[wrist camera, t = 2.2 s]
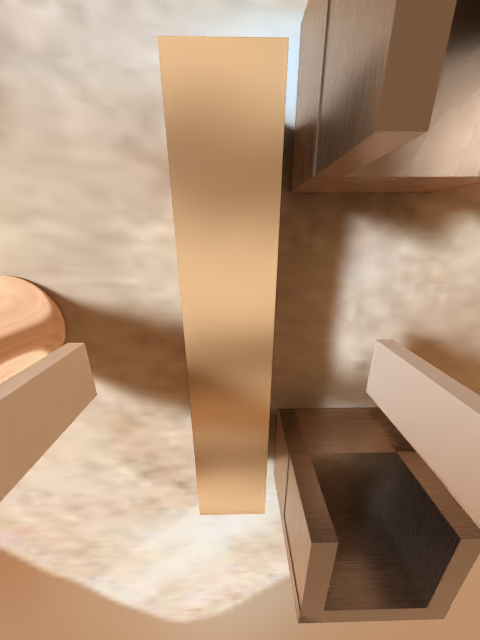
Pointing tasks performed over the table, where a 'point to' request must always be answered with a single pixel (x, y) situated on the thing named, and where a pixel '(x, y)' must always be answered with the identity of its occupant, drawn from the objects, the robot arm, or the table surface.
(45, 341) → the shiny metal tumbler
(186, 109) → the rail
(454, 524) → the brackets
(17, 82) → the table surface
